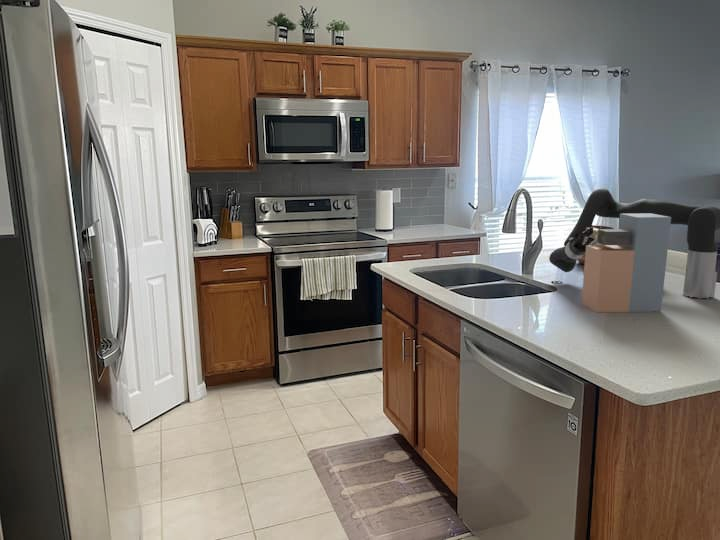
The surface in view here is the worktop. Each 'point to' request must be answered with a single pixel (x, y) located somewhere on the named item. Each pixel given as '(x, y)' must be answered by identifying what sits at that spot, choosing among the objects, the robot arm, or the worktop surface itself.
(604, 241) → the mallet
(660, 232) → the step stand
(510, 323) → the worktop surface
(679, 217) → the robot arm
